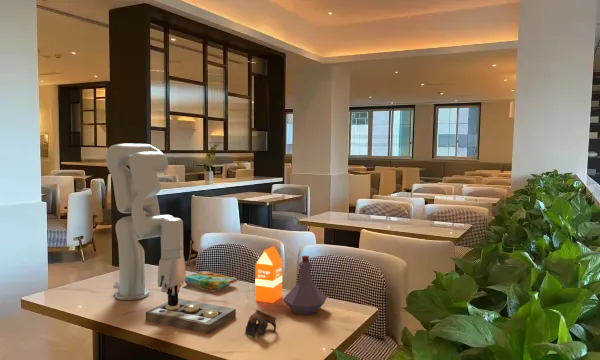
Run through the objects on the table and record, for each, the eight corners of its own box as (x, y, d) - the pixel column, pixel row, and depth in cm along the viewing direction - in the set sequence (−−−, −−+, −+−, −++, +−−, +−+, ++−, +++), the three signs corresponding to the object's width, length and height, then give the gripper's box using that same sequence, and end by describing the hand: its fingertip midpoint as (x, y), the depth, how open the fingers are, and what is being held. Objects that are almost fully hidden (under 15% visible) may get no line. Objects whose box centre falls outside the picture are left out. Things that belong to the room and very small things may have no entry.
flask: (299, 299, 184) (300, 249, 182) (335, 308, 174) (336, 255, 172) (273, 311, 170) (273, 257, 169) (310, 322, 161) (311, 264, 159)
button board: (145, 320, 160) (145, 311, 160) (175, 305, 175) (175, 297, 175) (209, 333, 150) (209, 323, 149) (235, 317, 164) (235, 307, 164)
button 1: (162, 311, 164) (162, 305, 164) (171, 307, 169) (171, 301, 168) (173, 314, 162) (173, 308, 162) (182, 309, 167) (182, 303, 166)
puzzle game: (203, 269, 210) (237, 276, 199) (203, 279, 210) (237, 287, 199) (183, 275, 200) (218, 283, 189) (183, 285, 200) (218, 294, 189)
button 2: (200, 319, 158) (200, 313, 157) (208, 315, 162) (208, 308, 162) (212, 322, 156) (212, 315, 155) (220, 317, 160) (220, 311, 160)
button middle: (180, 313, 161) (180, 307, 161) (189, 308, 165) (189, 302, 165) (192, 315, 159) (192, 309, 159) (201, 310, 163) (201, 304, 163)
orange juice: (254, 300, 182) (255, 249, 181) (265, 293, 190) (265, 245, 189) (273, 303, 179) (273, 251, 178) (282, 296, 187) (283, 246, 186)
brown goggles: (241, 330, 154) (251, 306, 156) (266, 341, 156) (277, 318, 158) (246, 335, 143) (257, 309, 145) (273, 347, 144) (284, 321, 146)
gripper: (177, 248, 172) (178, 297, 173) (148, 256, 158) (149, 310, 160) (194, 250, 169) (194, 300, 170) (166, 259, 155) (167, 313, 157)
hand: (173, 304), depth 165 cm, fingers closed
